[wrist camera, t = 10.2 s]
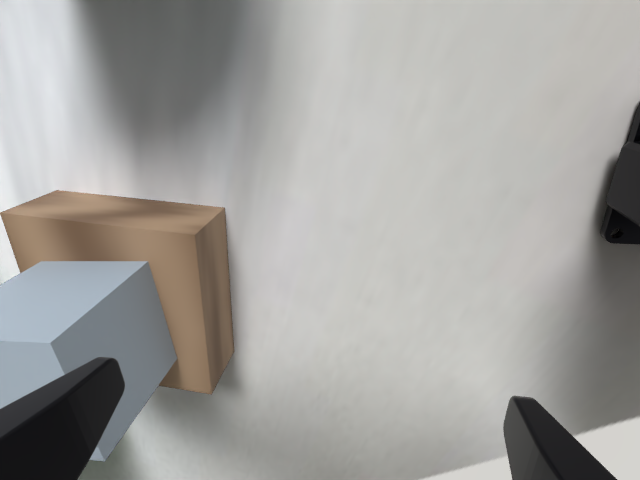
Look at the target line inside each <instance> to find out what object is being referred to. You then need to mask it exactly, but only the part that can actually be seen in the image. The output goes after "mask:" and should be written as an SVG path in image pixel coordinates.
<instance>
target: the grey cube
mask: <svg viewBox="0 0 640 480" xmlns="http://www.w3.org/2000/svg"><path fill="white" fill-rule="evenodd" d="M97 357H110V358H115V359H116V360H117V361H118V363H119V366H120V369H121V372H122V375H123V378H124V381H125V390H124V393H123V395H122V397H121V399H120V401H119V403H118V405H117V407H116V409H115V411H114V413H113V415H112V417H111V419H110V421H109V423H108V425H107V427H106V429H105V431H104V433H103V435H102V437H101V439H100V441H99V443H98V445H97V447H96V449H95V451H94V452H93V454H92V456H91V458H90V460H95V461H105V460H106V459H107V458H108V456H109V455H110V453H111V452H112V451H113V449H114V448H115V446H116V445H117V443H118V442H119V441H120V439H121V438H122V436H123V435H124V434H125V432H126V431H127V429H128V428H129V426H130V425H131V424H132V422H133V421H134V419H135V418H136V416H137V415H138V414H139V412H140V411H141V409H142V408H143V407H144V405H145V404H146V402H147V401H148V399H149V398H150V397H151V395H152V394H153V392H154V391H155V390H156V388H157V387H158V385H159V384H160V382H161V381H162V380H163V378H164V377H165V375H166V374H167V372H168V371H169V370H170V368H171V367H172V365H173V364H174V363H175V361H176V360H177V356H176V353H175V349H174V346H173V343H172V339H171V336H170V333H169V329H168V326H167V322H166V319H165V316H164V312H163V309H162V306H161V302H160V299H159V296H158V292H157V289H156V286H155V282H154V279H153V276H152V272H151V269H150V266H149V263H148V261H41V262H39V263H38V264H36V265H34V266H32V267H31V268H29V269H27V270H25V271H24V272H22V273H20V274H18V275H17V276H15V277H13V278H11V279H10V280H8V281H6V282H5V283H3V284H1V285H0V409H1V408H3V407H4V406H6V405H8V404H10V403H12V402H14V401H16V400H18V399H20V398H21V397H23V396H25V395H27V394H29V393H31V392H33V391H35V390H37V389H38V388H40V387H42V386H44V385H46V384H48V383H50V382H52V381H54V380H55V379H57V378H59V377H61V376H63V375H65V374H67V373H69V372H71V371H72V370H74V369H76V368H78V367H80V366H82V365H84V364H86V363H88V362H89V361H91V360H93V359H95V358H97Z"/></svg>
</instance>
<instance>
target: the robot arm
mask: <svg viewBox="0 0 640 480" xmlns="http://www.w3.org/2000/svg"><path fill="white" fill-rule="evenodd" d="M606 202H607V203H608V207H607V210H606V213H605V217H604V220H603V223H602V226H601V230H600V234H601V236H602V237H603V238H604V239H606V240H607V241H608V242H610V243H619V244H640V103H639V105H638V109H637V112H636V115H635V118H634V122H633V125H632V128H631V131H630V135H629V138H628V141H627V143H626V144H625V145H624V146H623V147H622V149H621V152H620V156H619V159H618V162H617V166H616V169H615V172H614V175H613V179H612V182H611V185H610V189H609V192H608V195H607V199H606ZM616 228H619V230H618V232H617V233H616V234H613V235H611V232H612V231H613V230H614V229H616ZM124 390H125V381H124V378H123V375H122V372H121V369H120V366H119V363H118V361H117V360H116V359H115V358H110V357H97V358H95V359H93V360H91V361H89V362H88V363H86V364H84V365H82V366H80V367H78V368H76V369H74V370H72V371H71V372H69V373H67V374H65V375H63V376H61V377H59V378H57V379H55V380H54V381H52V382H50V383H48V384H46V385H44V386H42V387H40V388H38V389H37V390H35V391H33V392H31V393H29V394H27V395H25V396H23V397H21V398H20V399H18V400H16V401H14V402H12V403H10V404H8V405H6V406H4V407H3V408H1V409H0V480H77V479H78V478H79V476H80V474H81V473H82V471H83V470H84V468H85V466H86V465H87V463H88V461H89V460H90V458H91V456H92V454H93V452H94V451H95V449H96V447H97V445H98V443H99V441H100V439H101V437H102V435H103V433H104V431H105V429H106V427H107V425H108V423H109V421H110V419H111V417H112V415H113V413H114V411H115V409H116V407H117V405H118V403H119V401H120V399H121V397H122V395H123V393H124ZM503 429H504V438H505V443H506V448H507V453H508V459H509V464H510V469H511V474H512V480H617V479H616V478H615V477H614V476H613V475H612V474H611V473H610V472H609V471H608V470H607V469H606V468H605V467H604V466H603V465H602V464H601V463H599V461H597V460H596V459H595V458H594V457H593V456H592V455H591V454H590V453H589V452H588V451H587V450H586V449H585V448H584V447H583V446H582V445H581V444H580V443H579V442H578V441H577V440H576V439H575V438H574V437H573V436H572V435H571V434H570V433H569V432H568V431H567V430H566V429H565V428H564V427H563V426H562V425H561V424H560V423H559V422H558V421H557V420H556V419H555V418H554V417H552V416H551V415H550V414H549V413H548V412H547V411H546V410H545V409H544V408H543V407H542V406H541V405H540V404H539V403H538V402H537V401H536V400H535V399H533V398H530V397H520V396H513V397H511V398H510V400H509V404H508V408H507V412H506V416H505V420H504V427H503Z"/></svg>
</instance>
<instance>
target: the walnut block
mask: <svg viewBox="0 0 640 480" xmlns="http://www.w3.org/2000/svg"><path fill="white" fill-rule="evenodd" d="M0 214H1V217H2V220H3V223H4V226H5V229H6V232H7V235H8V238H9V241H10V244H11V246H12V249H13V252H14V255H15V258H16V261H17V264H18V267H19V270H20V273H22V272H24V271H25V270H27V269H29V268H31V267H32V266H34V265H36V264H38V263H39V262H41V261H148V263H149V266H150V269H151V272H152V276H153V279H154V282H155V286H156V289H157V292H158V296H159V299H160V302H161V306H162V309H163V312H164V316H165V319H166V322H167V326H168V329H169V333H170V336H171V339H172V343H173V346H174V349H175V353H176V356H177V360H176V361H175V363H174V364H173V365H172V367H171V368H170V370H169V371H168V372H167V374H166V375H165V377H164V378H163V380H162V381H161V382H160V384H159V385H158V386H164V387H170V388H176V389H182V390H188V391H194V392H200V393H206V394H212V393H213V391H214V389H215V387H216V385H217V383H218V381H219V379H220V377H221V375H222V374H223V372H224V370H225V368H226V366H227V364H228V362H229V360H230V358H231V356H232V354H233V352H234V342H233V327H232V311H231V296H230V281H229V265H228V250H227V235H226V220H225V208H223V207H213V206H203V205H194V204H184V203H175V202H165V201H155V200H146V199H136V198H126V197H117V196H107V195H97V194H88V193H78V192H68V191H59V190H56V191H54V192H51V193H49V194H46V195H44V196H41V197H39V198H36V199H34V200H31V201H29V202H26V203H23V204H21V205H18V206H16V207H13V208H11V209H8V210H6V211H3V212H1V213H0Z"/></svg>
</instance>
